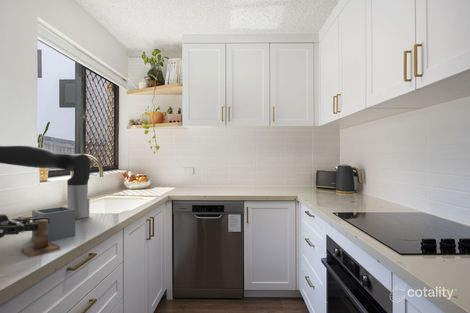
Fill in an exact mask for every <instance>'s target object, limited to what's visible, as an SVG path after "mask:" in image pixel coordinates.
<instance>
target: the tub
mask: <svg viewBox="0 0 470 313" xmlns="http://www.w3.org/2000/svg"><path fill="white" fill-rule="evenodd" d="M34 216H38V218H48V217H49V218H50V223H49V224H48V242H53V241H57V240H62V239H66V238H70V237H74V236H76V219H75V209H72V208H68V207H67V206H56V207H48V208H41V209H35V210H31V217H34ZM31 222H33V220H31ZM31 238H32V239H34V231H31Z"/></svg>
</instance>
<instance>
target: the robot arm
mask: <svg viewBox="0 0 470 313" xmlns="http://www.w3.org/2000/svg"><path fill="white" fill-rule="evenodd" d="M0 164H3V165H4V164H5V165H11V166H12V165H13V166H19V167H27V168H36V169H48V168H51V169H52V168H54V169H59V170H64V171H65V170H66V171H69V172H72V173H73V174H72V176H71V177H70V178H68V179H67V183H66V184H67V185H66V186H67V188H66V191H67V192H66V201H67V202H66V207H68V208H72V209H75V220H80V219H85V218H89V217H90V198H89V194H88V192H89V191H88V190H89V188H88V187H89V180H90V176H91V159H90V158H89V156H88V155H86V154H84V153H57V152H53V151H51V150H50V149H47V148H43V147H37V146H33V145H0ZM42 219H47V220H48V224H49V223H50V218H49V217H48V218H38V216H34V217H32V216H23V217H22V216H21V217H20V216H18V217H15V218H12V219H9V217H8V215H7V214H4V213H3V214H0V239H1V238H3V237H5V236H8V235H11V236H12V235H19V234H20V233H22V234H23V233H25V232H32V231H37V230H39V224H38V223H36V224H34V221H36V220H42ZM32 220H33V222H32Z"/></svg>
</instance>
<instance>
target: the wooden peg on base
mask: <svg viewBox="0 0 470 313" xmlns="http://www.w3.org/2000/svg"><path fill="white" fill-rule="evenodd" d="M36 223H38V224H39V230H37V231H34V238H33V245H30V246H26V247H22V248H21V252H22V253H23V254H25V255H27V256H29V257H30V258H32V257H36V256H37V257H38V256H40V255H45V254H47V253H48V254H49V253H51V252H52V253H53V252H56V251H60V250H61V249H60V248H61V247H60V245H58V244H55V243H53V242H52V241H49V242H48V220H47V219H42V220H36V221H34V224H36Z"/></svg>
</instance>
